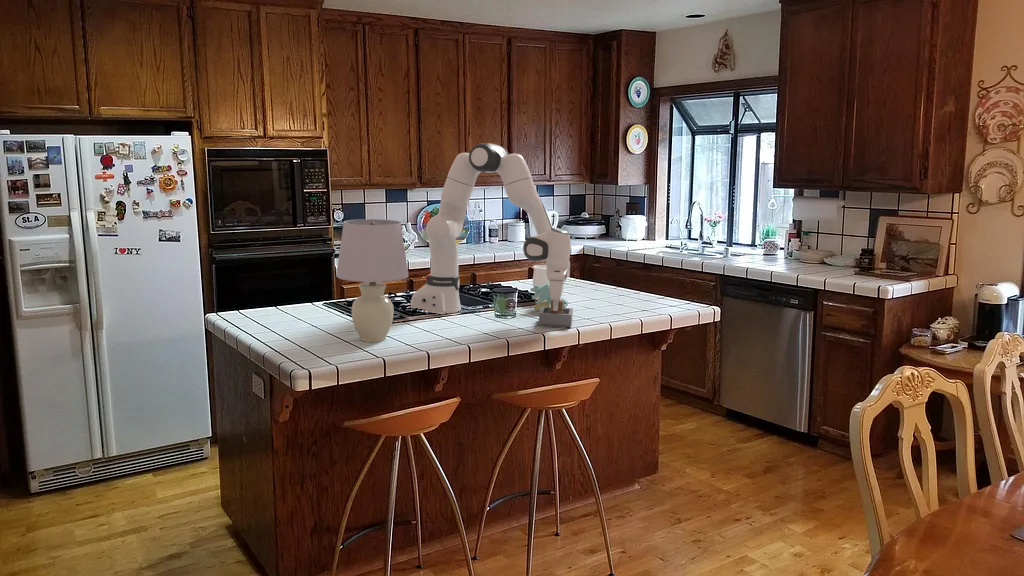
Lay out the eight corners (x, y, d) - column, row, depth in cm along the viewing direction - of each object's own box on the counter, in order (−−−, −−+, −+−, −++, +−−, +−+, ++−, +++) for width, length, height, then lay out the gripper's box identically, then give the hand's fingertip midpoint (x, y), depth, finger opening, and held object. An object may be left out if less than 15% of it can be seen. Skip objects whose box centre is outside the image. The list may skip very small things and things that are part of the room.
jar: (533, 297, 345) (534, 263, 343) (556, 298, 344) (558, 265, 341) (530, 302, 335) (531, 267, 332) (554, 303, 334) (556, 268, 331)
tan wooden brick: (549, 321, 296) (550, 300, 294) (550, 319, 298) (551, 299, 297) (561, 322, 295) (562, 301, 294) (562, 320, 297) (563, 300, 296)
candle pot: (538, 326, 292) (539, 313, 291) (541, 319, 303) (541, 306, 302) (570, 328, 290) (571, 314, 289) (572, 320, 302) (572, 308, 301)
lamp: (326, 335, 269) (324, 219, 262) (389, 327, 283) (388, 217, 275) (354, 351, 250) (353, 227, 243) (420, 342, 264) (421, 224, 256)
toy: (571, 311, 315) (555, 279, 311) (541, 323, 318) (524, 292, 314) (571, 301, 324) (556, 270, 320) (542, 313, 328) (527, 283, 323)
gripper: (551, 267, 304) (550, 302, 306) (547, 275, 284) (546, 313, 286) (567, 267, 303) (566, 302, 305) (564, 276, 283) (563, 313, 285)
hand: (556, 307), depth 296 cm, fingers open, 8 cm apart
